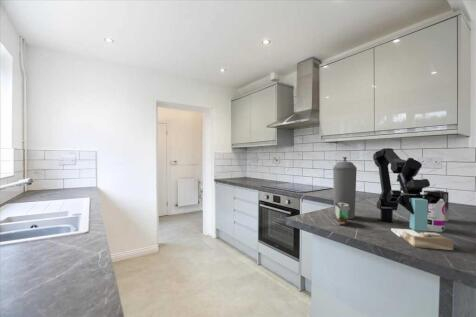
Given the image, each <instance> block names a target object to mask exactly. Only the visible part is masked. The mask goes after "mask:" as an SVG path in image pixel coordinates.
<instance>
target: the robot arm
mask: <svg viewBox="0 0 476 317" xmlns="http://www.w3.org/2000/svg"><path fill="white" fill-rule="evenodd" d="M372 159H373V161H374V165H376V167H377V168H378V173H379V181H380V190H381V192H380V194H379V196H378V200H377V202H376V209H379V210H380V217H379V218H378V221H383V222H387V223H393V222H394V221H395V218H394V216H393V215H394V211H398V207H399V205H400V206H402V207H403V208H405V209H406V210H407V211H408V212H409V214H410V213H412V214H414V210H413V208H412V205H411V203H410V198H423V199H425V200H428V205H429V204H436V203H437V202H438V201H439V200H440V199H441V198H442V195H441V193H440V192H435V191H432V190H427V191H428V193H427V194H426V195H424V193H423V192H424V190H423V189H425V188H429V187H430V185H431V183H430V180H429V179H427V178H422V179H414V178H415V177H416V176H417V175H418V173H419V171H420V170H421V169H422V167H423V165H422V163H421V162H420V161H419V160H416V159H415V158H414V157H408V158H407V159H406V160H405V159H402V158H400V156H399V155H398V154H397V153H396V152H395V151H394V148H391V147H384V148H382V149H381V150H377V151H375V153H373V155H372ZM389 166H390V170H391V172H392V173H393V174H397V175H396V177H397V178H396V182H399V185H400V188H399V189H396V190H395V189H392V184H391V177H390V171H389Z"/></svg>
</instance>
